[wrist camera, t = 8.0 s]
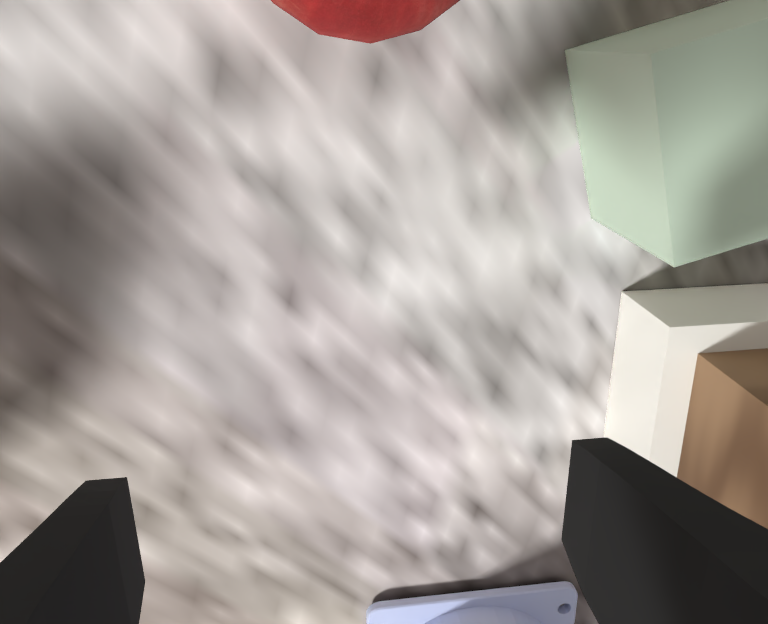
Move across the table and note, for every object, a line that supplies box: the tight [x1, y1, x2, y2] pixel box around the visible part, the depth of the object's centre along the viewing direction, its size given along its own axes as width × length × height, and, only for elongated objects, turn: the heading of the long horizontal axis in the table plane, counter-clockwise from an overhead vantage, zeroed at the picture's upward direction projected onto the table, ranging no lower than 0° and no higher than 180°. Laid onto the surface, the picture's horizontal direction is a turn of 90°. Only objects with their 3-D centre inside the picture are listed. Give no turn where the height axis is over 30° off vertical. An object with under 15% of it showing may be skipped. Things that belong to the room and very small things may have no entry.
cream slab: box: [603, 283, 768, 477], centre depth 22 cm, size 7×7×3 cm
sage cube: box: [565, 0, 768, 267], centre depth 18 cm, size 5×5×5 cm
